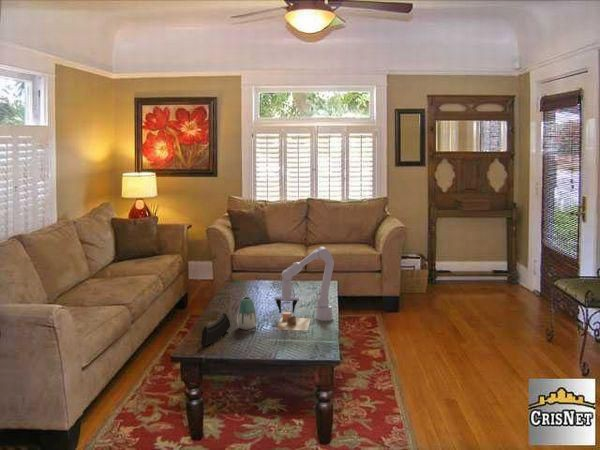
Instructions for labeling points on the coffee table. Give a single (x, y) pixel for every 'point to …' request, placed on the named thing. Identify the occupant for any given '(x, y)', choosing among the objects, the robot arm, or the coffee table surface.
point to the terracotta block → (286, 315)
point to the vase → (246, 314)
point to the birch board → (300, 325)
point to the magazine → (215, 330)
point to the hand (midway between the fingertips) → (286, 312)
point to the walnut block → (291, 320)
